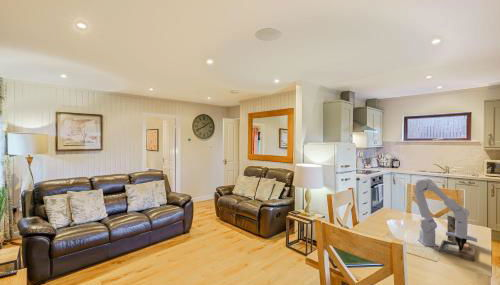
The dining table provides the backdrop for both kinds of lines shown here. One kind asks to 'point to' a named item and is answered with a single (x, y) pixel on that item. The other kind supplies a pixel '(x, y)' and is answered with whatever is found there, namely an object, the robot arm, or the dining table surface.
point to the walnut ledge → (466, 253)
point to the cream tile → (453, 248)
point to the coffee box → (451, 227)
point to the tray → (446, 247)
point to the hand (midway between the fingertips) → (460, 249)
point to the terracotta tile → (466, 246)
